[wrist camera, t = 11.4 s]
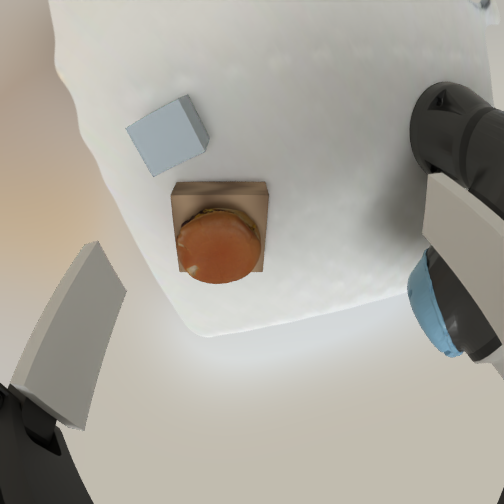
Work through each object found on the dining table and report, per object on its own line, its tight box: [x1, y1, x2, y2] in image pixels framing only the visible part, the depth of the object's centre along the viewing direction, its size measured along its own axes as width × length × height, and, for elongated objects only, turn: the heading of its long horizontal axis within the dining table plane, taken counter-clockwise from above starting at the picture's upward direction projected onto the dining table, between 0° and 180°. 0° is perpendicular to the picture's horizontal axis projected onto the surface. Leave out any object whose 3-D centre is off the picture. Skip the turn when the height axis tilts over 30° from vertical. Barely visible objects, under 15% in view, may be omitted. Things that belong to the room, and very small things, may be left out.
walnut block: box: [171, 182, 269, 272], centre depth 36 cm, size 11×11×4 cm
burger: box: [176, 208, 261, 284], centre depth 33 cm, size 10×9×5 cm
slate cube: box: [125, 94, 210, 177], centre depth 28 cm, size 6×6×6 cm
